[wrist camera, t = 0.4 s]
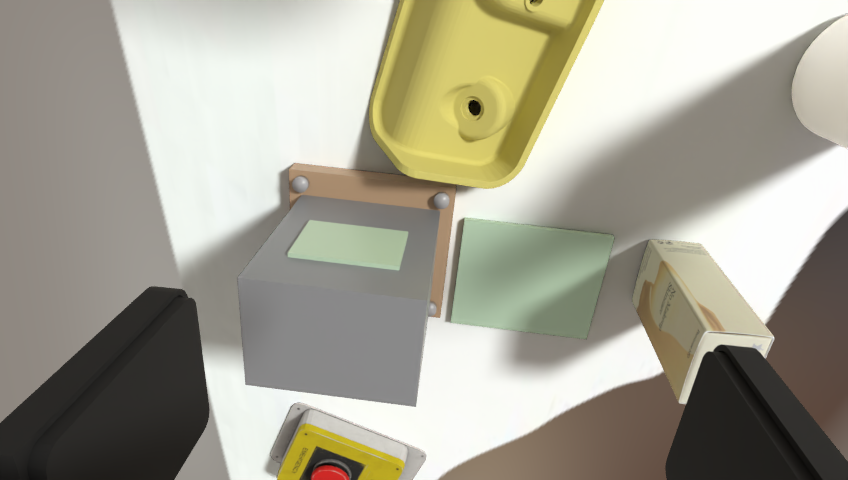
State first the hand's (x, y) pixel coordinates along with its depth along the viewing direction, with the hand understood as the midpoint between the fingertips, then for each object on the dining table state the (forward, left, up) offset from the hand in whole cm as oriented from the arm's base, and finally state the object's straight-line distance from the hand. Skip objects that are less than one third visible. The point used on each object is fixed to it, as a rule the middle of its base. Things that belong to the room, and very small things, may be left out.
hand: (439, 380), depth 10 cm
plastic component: (-3, +1, -33) cm, 33 cm away
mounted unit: (+14, -6, -33) cm, 36 cm away
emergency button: (+40, -8, -33) cm, 52 cm away
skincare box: (+14, +18, -33) cm, 40 cm away
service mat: (+16, +7, -33) cm, 37 cm away
